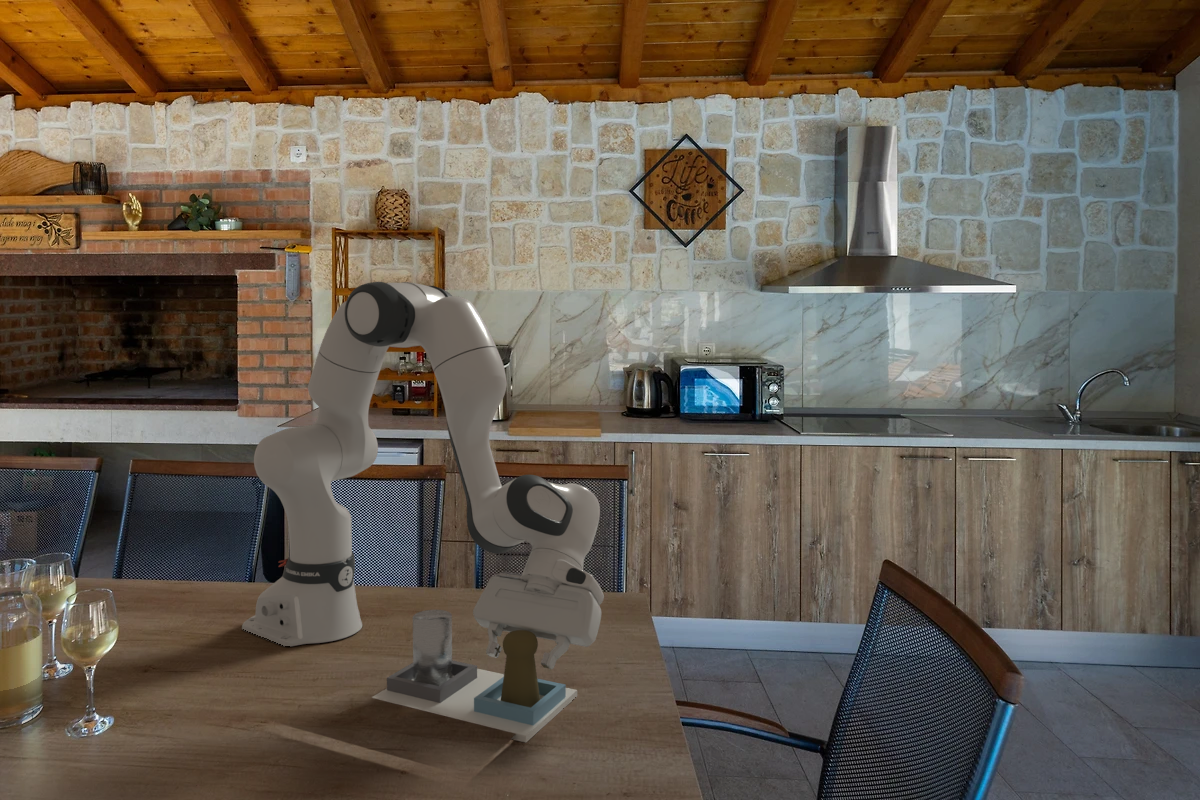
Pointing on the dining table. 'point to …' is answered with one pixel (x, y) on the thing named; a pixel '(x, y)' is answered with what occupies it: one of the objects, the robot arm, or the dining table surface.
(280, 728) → the dining table surface
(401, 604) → the dining table surface
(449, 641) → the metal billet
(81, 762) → the dining table surface
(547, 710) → the pallet board
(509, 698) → the cork
